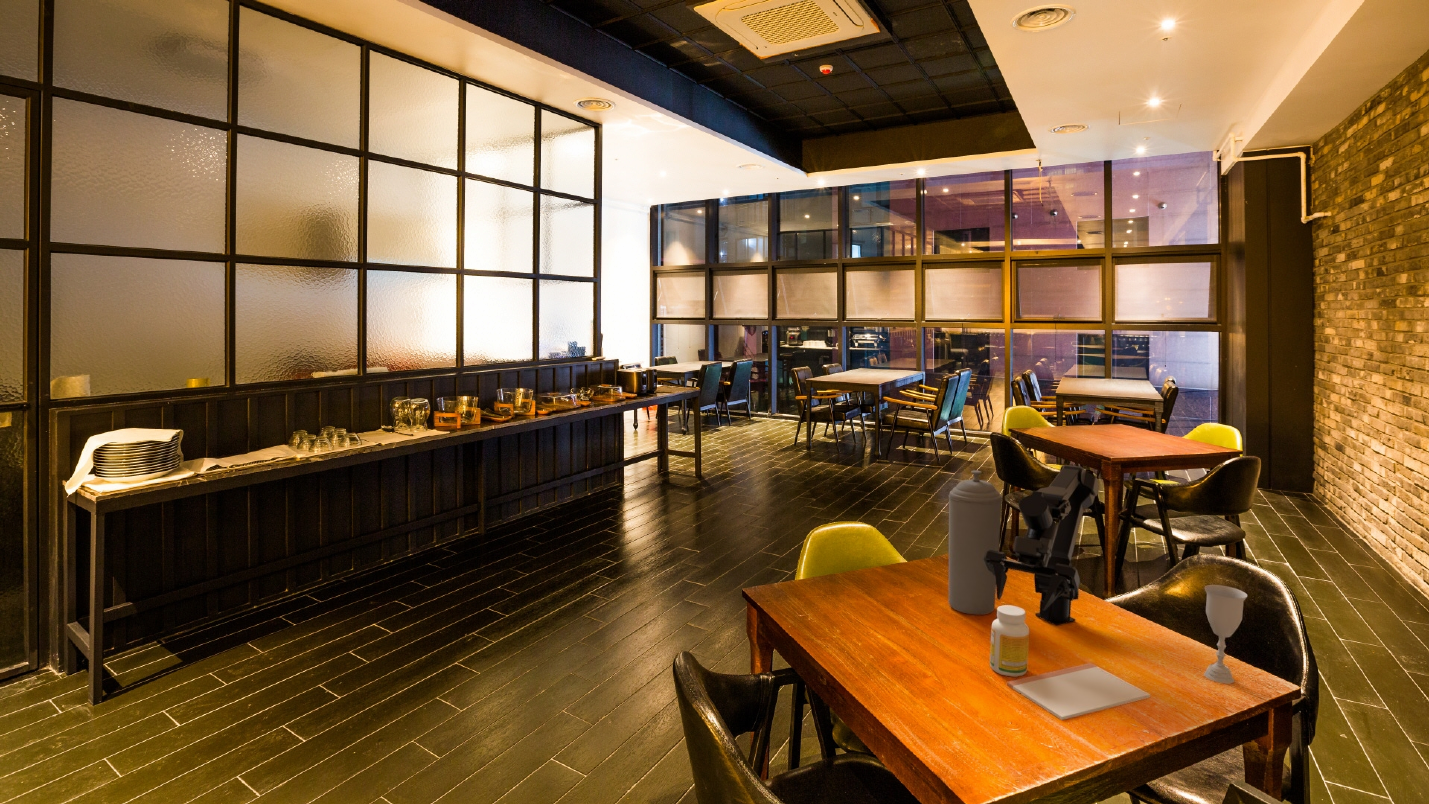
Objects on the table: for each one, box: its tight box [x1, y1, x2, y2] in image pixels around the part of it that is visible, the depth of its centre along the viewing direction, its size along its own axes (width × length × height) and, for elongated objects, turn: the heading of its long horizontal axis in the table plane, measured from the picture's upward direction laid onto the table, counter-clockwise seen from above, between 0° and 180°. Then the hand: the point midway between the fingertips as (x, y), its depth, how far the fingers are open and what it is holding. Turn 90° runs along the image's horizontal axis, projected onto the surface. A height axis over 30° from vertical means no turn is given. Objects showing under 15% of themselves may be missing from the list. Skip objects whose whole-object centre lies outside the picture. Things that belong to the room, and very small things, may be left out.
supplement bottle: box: [989, 604, 1030, 678], centre depth 149 cm, size 7×7×13 cm
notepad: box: [1006, 662, 1151, 721], centre depth 140 cm, size 22×14×1 cm, turn 110°
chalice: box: [1203, 584, 1248, 685], centre depth 144 cm, size 7×7×18 cm
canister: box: [948, 470, 1004, 616], centre depth 180 cm, size 13×13×35 cm
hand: (1020, 604), depth 152 cm, fingers open, 9 cm apart
